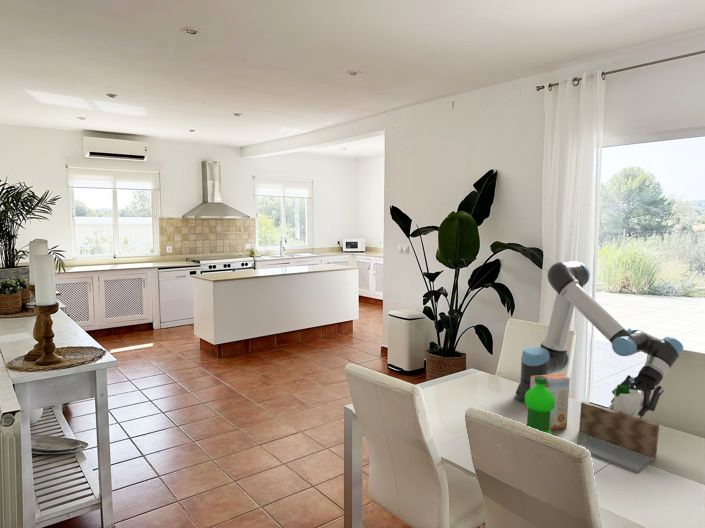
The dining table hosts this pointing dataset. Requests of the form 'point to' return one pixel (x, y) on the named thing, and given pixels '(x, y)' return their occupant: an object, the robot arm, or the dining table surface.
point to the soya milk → (627, 400)
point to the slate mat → (616, 455)
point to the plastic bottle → (539, 405)
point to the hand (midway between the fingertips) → (621, 416)
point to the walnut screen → (619, 429)
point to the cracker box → (557, 398)
